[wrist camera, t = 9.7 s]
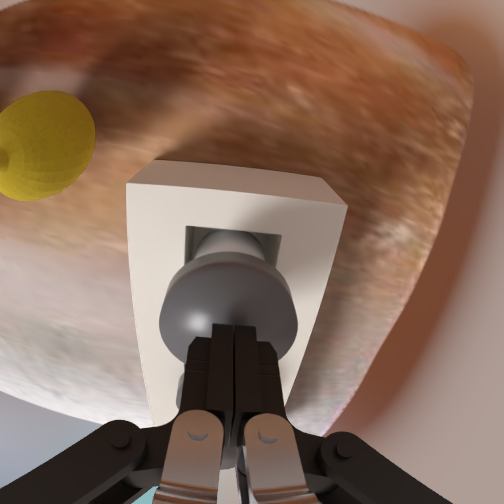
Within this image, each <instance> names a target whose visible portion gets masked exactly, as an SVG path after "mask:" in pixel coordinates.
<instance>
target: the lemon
mask: <svg viewBox="0 0 504 504" xmlns="http://www.w3.org/2000/svg"><path fill="white" fill-rule="evenodd" d="M95 135H96V132H95V126H94V121H93V119H92V116H91V114H90V112H89V110H88V109H87V108H86V106H85V105H84V104H83V103H82V102H81V101H80V100H78V99H77V98H76V97H74V96H72V95H70V94H67V93H64V92H61V91H40V92H36V93H33V94H30V95H27V96H25V97H22V98H20V99H18V100H16V101H15V102H13V103H12V104H11V105H9V106H8V107H7V108H6V109H4V110H3V111H2V112H1V113H0V192H1V193H3V194H4V195H6V196H7V197H10V198H12V199H16V200H19V201H35V200H40V199H43V198H46V197H49V196H52V195H55V194H57V193H59V192H61V191H62V190H64V189H65V188H66V187H68V186H69V185H71V184H72V183H73V182H74V181H75V180H76V179H77V178H78V177H79V176H80V174H81V173H82V172H83V171H84V170H85V168H86V167H87V165H88V163H89V161H90V159H91V157H92V154H93V150H94V146H95Z"/></svg>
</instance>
